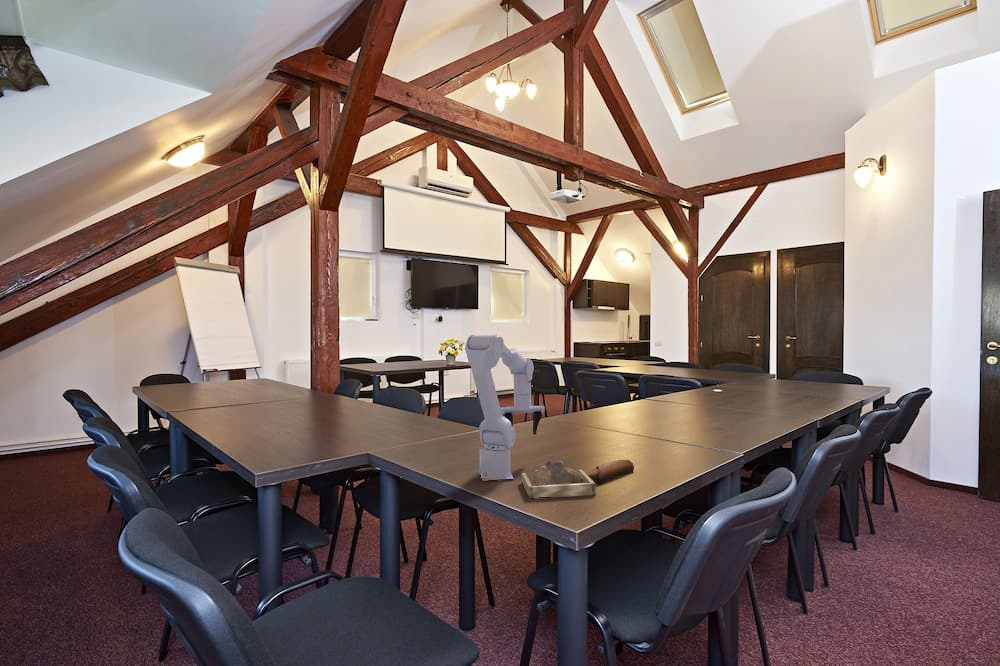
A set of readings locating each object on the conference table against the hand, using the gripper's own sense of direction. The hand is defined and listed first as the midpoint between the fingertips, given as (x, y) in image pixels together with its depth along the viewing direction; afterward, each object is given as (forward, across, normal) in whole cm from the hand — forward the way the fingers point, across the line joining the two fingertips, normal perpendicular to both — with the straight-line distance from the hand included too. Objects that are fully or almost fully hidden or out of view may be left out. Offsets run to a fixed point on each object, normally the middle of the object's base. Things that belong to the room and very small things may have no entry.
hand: (523, 434), depth 162 cm
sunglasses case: (+10, -22, +18) cm, 30 cm away
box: (+9, -5, +28) cm, 29 cm away
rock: (+10, -6, +24) cm, 27 cm away
